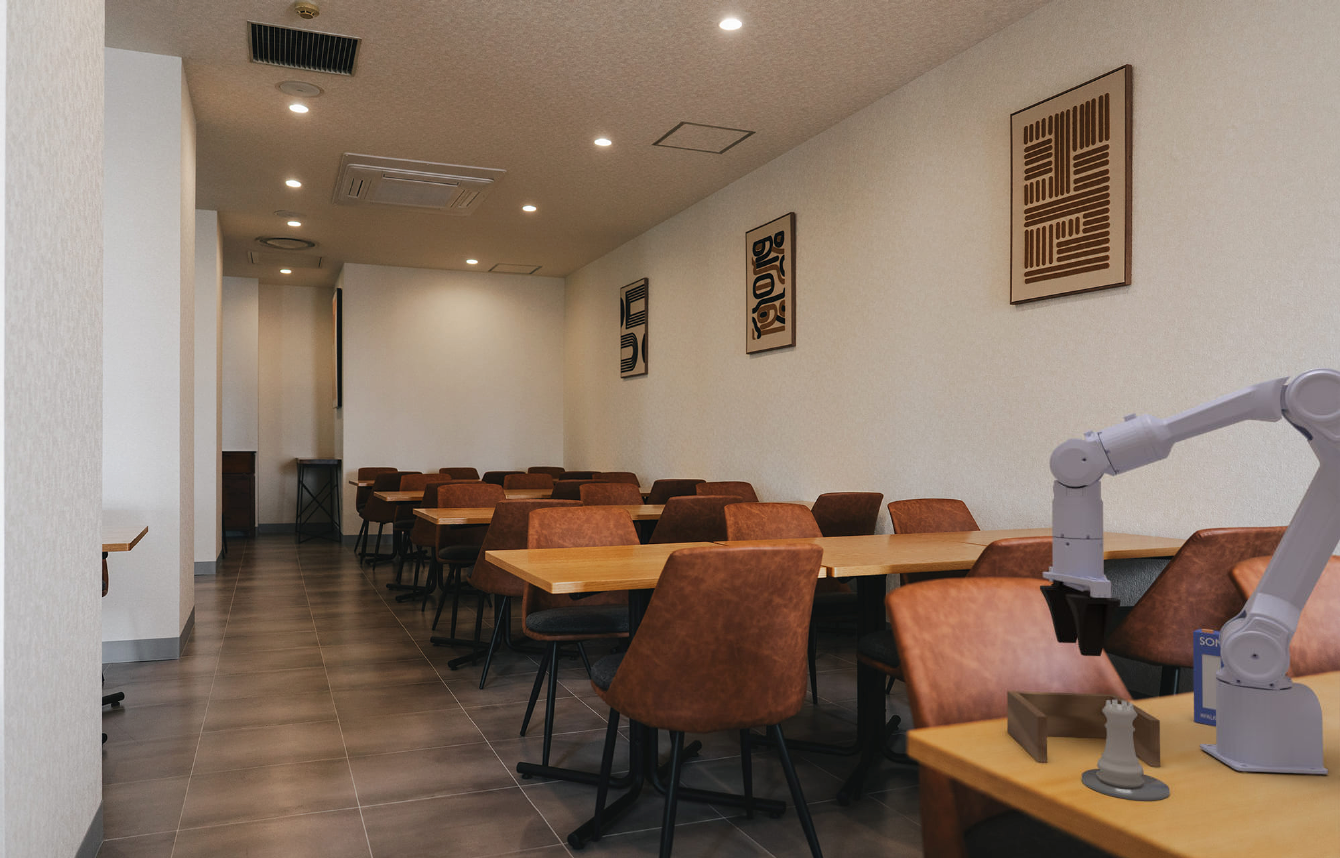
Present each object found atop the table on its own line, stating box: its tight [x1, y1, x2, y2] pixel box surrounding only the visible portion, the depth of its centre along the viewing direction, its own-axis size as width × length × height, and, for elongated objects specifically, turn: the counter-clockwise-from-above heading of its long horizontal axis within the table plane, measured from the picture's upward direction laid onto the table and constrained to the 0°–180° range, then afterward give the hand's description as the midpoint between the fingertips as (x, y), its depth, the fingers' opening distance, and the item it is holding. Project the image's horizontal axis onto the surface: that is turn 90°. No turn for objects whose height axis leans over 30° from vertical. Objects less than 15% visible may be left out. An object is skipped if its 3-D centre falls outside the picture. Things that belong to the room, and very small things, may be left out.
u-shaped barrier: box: [1006, 690, 1161, 768], centre depth 102 cm, size 13×11×5 cm
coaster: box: [1081, 768, 1170, 802], centre depth 90 cm, size 8×8×1 cm
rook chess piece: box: [1096, 700, 1145, 789], centre depth 90 cm, size 4×4×8 cm
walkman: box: [1192, 628, 1224, 727], centre depth 112 cm, size 8×3×12 cm, turn 44°
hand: (1078, 648), depth 108 cm, fingers open, 7 cm apart
